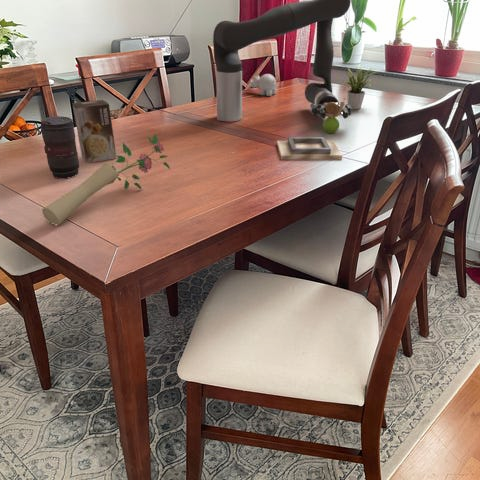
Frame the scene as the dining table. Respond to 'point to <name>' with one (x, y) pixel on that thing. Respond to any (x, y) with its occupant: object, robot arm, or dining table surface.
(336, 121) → the snail figurine
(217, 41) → the robot arm
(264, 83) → the round bodied animal figurine
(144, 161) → the flower vase
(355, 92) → the house plant
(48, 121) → the camera lens
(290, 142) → the board
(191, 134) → the dining table surface
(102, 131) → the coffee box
